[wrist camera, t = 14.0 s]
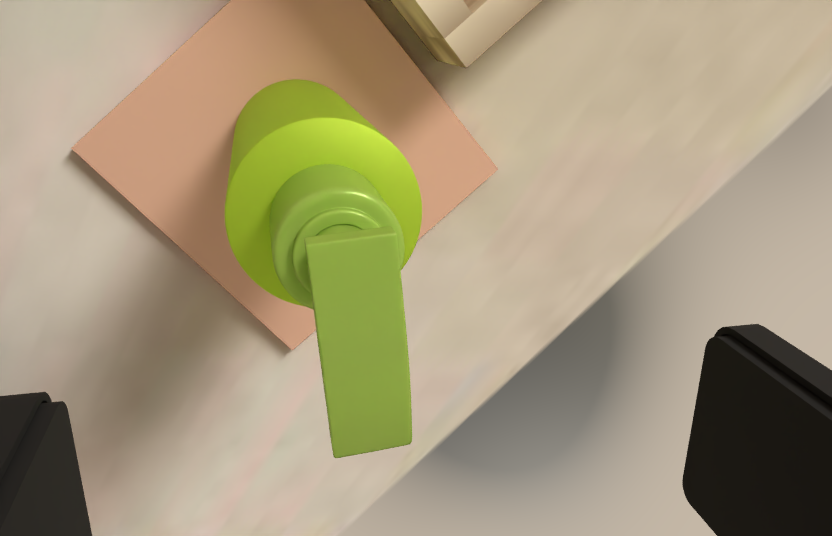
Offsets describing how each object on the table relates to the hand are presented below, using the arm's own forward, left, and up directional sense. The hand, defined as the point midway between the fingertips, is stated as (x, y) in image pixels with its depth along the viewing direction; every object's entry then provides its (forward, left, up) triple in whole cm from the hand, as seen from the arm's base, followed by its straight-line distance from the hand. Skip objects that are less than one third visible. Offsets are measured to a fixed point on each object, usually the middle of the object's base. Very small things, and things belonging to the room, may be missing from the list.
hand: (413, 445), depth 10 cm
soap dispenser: (0, 0, -25) cm, 25 cm away
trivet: (0, 0, -26) cm, 26 cm away
